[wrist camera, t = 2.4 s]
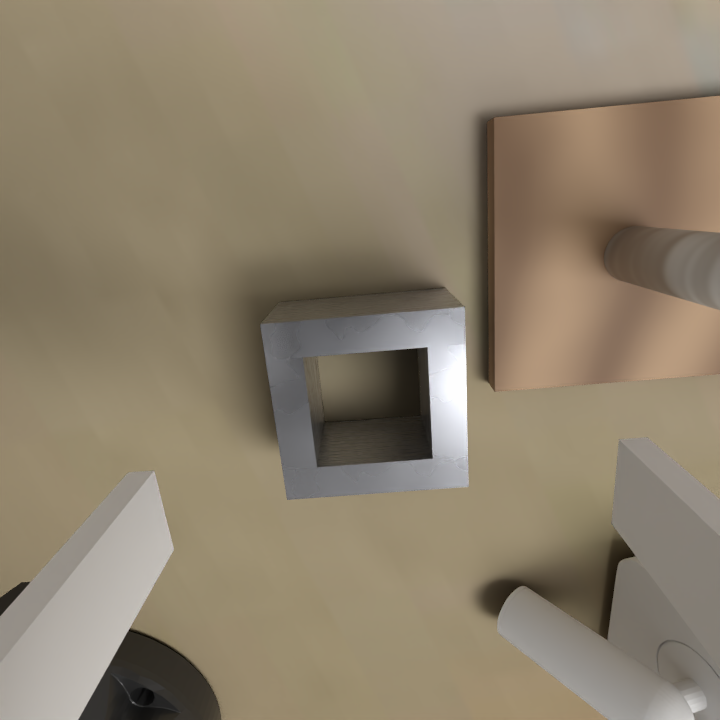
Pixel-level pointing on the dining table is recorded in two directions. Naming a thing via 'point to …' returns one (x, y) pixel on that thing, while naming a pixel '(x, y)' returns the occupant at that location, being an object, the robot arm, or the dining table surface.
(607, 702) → the wall hook
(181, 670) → the robot arm
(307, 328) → the link
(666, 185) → the keeper
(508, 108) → the dining table surface
